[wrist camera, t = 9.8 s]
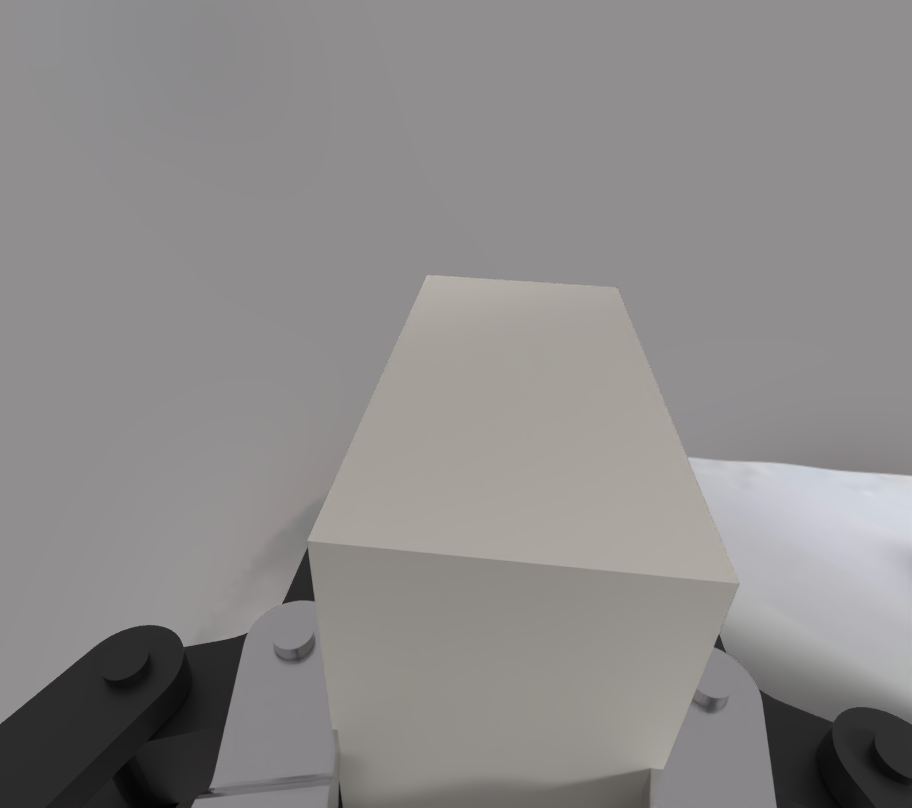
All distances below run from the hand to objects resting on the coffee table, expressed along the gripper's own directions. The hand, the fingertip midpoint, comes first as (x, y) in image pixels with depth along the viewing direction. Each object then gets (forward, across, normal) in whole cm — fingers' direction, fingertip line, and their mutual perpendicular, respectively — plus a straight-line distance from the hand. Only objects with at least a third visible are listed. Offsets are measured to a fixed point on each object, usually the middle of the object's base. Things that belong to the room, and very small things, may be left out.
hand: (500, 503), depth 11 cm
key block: (-2, 0, +6) cm, 6 cm away
